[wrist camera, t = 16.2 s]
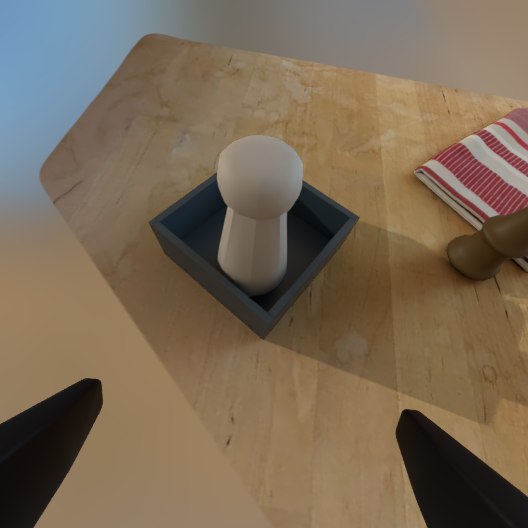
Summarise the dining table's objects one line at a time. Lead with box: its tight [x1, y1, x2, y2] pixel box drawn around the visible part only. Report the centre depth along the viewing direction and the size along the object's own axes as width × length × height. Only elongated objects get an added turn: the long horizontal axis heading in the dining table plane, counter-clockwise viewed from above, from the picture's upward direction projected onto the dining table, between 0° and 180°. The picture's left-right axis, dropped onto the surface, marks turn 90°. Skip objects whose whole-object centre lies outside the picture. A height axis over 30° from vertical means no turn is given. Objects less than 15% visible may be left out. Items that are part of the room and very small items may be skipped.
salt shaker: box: [216, 135, 303, 297], centre depth 18 cm, size 6×6×13 cm
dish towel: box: [414, 108, 528, 272], centre depth 32 cm, size 17×23×3 cm
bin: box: [149, 173, 359, 339], centre depth 23 cm, size 12×12×5 cm
